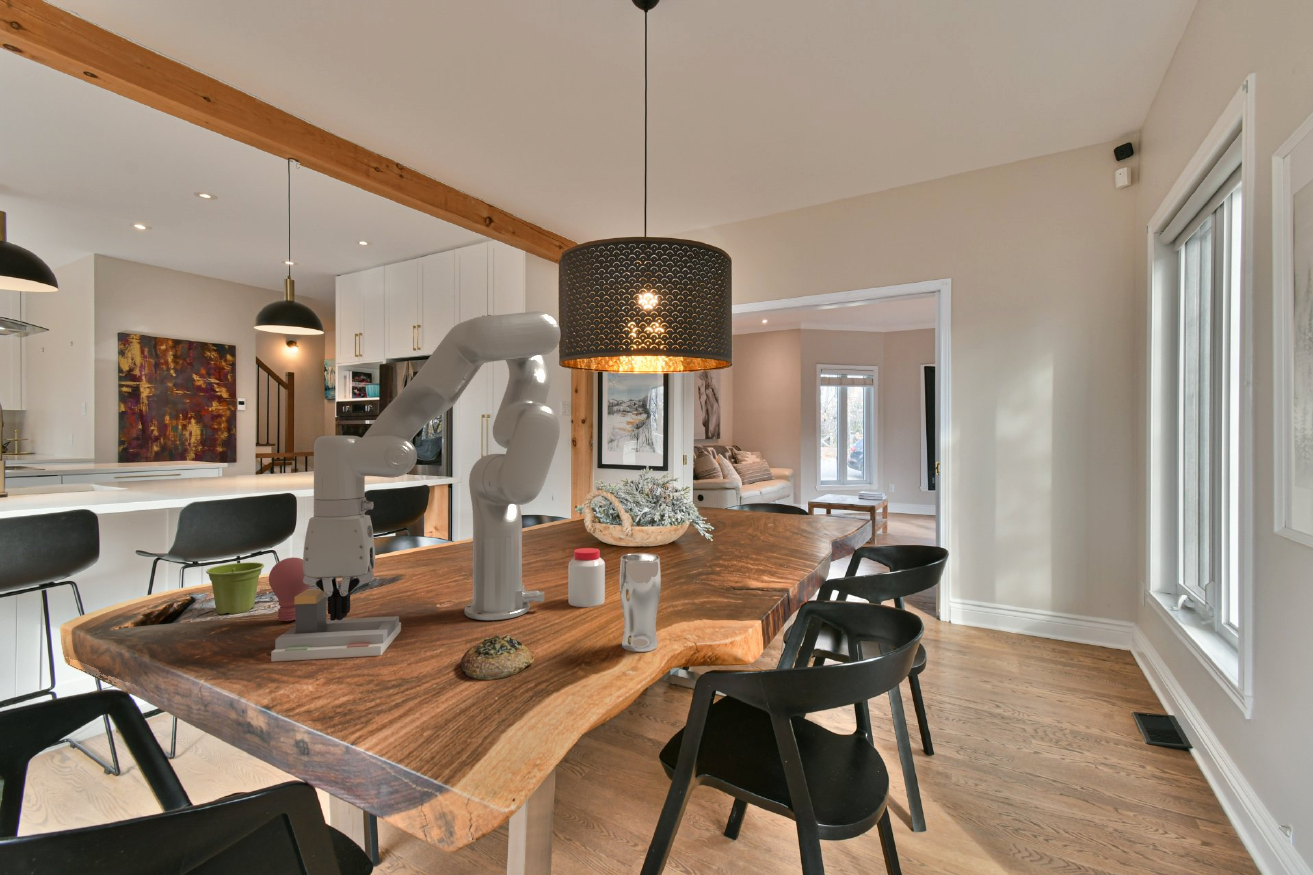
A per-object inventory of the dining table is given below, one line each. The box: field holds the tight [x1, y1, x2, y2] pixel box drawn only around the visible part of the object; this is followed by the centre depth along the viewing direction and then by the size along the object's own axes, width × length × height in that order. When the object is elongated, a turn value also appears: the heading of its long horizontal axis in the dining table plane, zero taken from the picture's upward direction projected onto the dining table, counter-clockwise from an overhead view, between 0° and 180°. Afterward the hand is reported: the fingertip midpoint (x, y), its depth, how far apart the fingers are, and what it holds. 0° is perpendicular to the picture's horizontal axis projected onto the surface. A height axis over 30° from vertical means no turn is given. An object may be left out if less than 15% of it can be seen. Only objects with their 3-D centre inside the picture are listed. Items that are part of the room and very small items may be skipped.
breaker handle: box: [294, 588, 328, 634], centre depth 96 cm, size 3×5×7 cm
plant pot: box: [205, 561, 265, 615], centre depth 116 cm, size 9×9×9 cm
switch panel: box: [270, 615, 402, 662], centre depth 97 cm, size 16×12×3 cm
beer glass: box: [618, 552, 662, 653], centre depth 97 cm, size 7×7×15 cm
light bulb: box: [268, 557, 311, 622], centre depth 109 cm, size 7×7×12 cm
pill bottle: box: [567, 547, 606, 608], centre depth 123 cm, size 8×8×11 cm
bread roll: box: [460, 634, 535, 681], centre depth 89 cm, size 11×11×5 cm
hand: (339, 617), depth 97 cm, fingers closed
